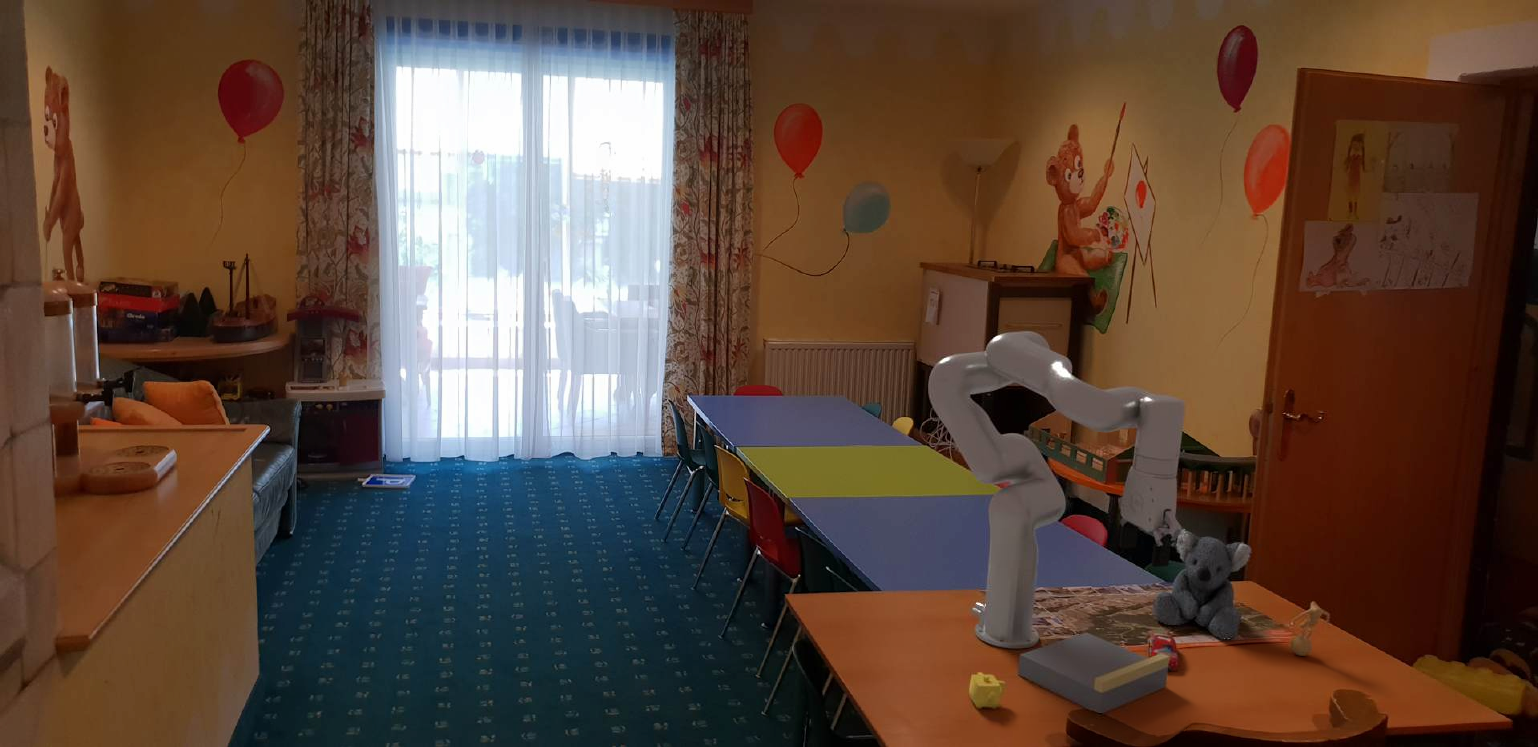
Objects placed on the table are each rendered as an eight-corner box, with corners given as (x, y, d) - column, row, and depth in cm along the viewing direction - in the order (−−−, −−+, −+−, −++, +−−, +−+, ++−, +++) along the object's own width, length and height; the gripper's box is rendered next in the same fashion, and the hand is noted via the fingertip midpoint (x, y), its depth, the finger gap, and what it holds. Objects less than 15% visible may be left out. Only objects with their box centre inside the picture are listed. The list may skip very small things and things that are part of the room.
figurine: (1312, 650, 221) (1320, 594, 219) (1331, 663, 215) (1340, 605, 213) (1275, 651, 219) (1282, 594, 217) (1293, 663, 214) (1301, 606, 212)
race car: (1177, 676, 206) (1180, 656, 205) (1147, 670, 208) (1149, 651, 207) (1176, 649, 218) (1178, 630, 218) (1148, 644, 220) (1150, 625, 219)
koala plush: (1148, 623, 231) (1158, 535, 227) (1167, 599, 246) (1177, 515, 242) (1235, 644, 222) (1247, 553, 218) (1249, 618, 237) (1261, 531, 233)
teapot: (1010, 715, 186) (1013, 687, 185) (978, 715, 186) (980, 687, 185) (996, 693, 194) (999, 666, 193) (965, 693, 193) (967, 666, 193)
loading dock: (1017, 674, 202) (1020, 644, 201) (1084, 651, 214) (1087, 622, 213) (1099, 714, 188) (1102, 681, 187) (1165, 686, 200) (1169, 656, 199)
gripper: (1109, 452, 201) (1098, 540, 204) (1166, 478, 184) (1154, 574, 187) (1144, 452, 203) (1133, 539, 206) (1204, 478, 186) (1191, 572, 189)
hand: (1143, 556), depth 196 cm, fingers open, 9 cm apart
